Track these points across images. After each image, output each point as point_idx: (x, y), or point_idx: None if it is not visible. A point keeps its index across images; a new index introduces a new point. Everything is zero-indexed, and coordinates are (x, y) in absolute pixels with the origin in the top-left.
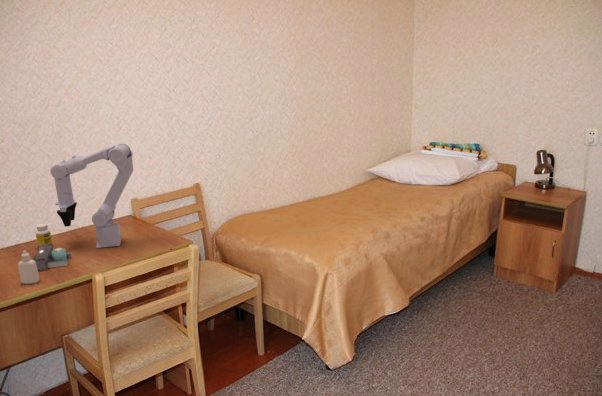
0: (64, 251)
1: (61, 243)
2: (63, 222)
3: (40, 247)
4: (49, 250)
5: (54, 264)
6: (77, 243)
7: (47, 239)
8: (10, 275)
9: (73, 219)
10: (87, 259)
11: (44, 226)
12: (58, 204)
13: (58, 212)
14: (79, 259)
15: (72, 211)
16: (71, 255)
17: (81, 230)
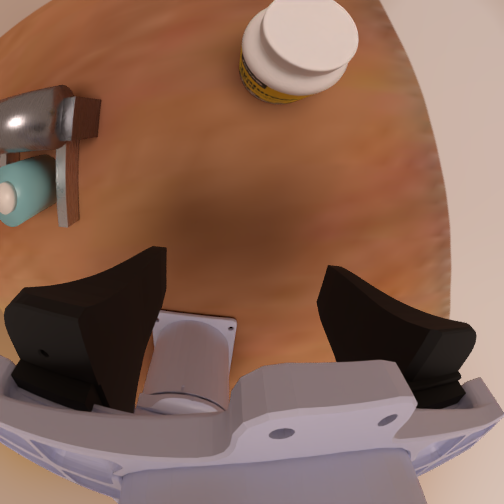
0: (7, 222)
1: (295, 149)
2: (129, 261)
3: (25, 99)
4: (12, 151)
5: None
6: (255, 230)
7: (247, 79)
8: (12, 37)
9: (319, 303)
10: (55, 277)
11: (271, 48)
12: (172, 445)
13: (10, 318)
14: (57, 250)
15: (345, 359)
16: (73, 222)
17: (424, 241)
